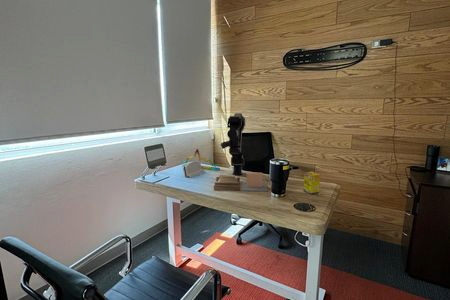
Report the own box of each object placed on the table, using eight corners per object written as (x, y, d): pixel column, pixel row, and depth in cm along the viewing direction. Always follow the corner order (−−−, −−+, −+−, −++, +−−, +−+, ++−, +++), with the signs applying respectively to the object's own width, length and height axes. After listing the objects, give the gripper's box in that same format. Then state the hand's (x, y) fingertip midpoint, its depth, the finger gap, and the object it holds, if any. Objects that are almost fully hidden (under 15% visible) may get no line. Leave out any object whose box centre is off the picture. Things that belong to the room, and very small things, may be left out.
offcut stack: (218, 181, 154) (218, 174, 153) (237, 181, 154) (237, 174, 153) (218, 184, 150) (217, 177, 149) (237, 184, 149) (237, 177, 148)
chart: (220, 170, 181) (219, 150, 178) (218, 171, 178) (218, 151, 175) (184, 166, 192) (183, 147, 189) (182, 167, 189) (181, 148, 186)
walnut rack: (216, 180, 156) (216, 177, 155) (239, 181, 155) (239, 177, 155) (213, 190, 139) (213, 186, 139) (240, 190, 138) (240, 186, 138)
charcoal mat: (242, 183, 151) (242, 182, 151) (264, 183, 150) (264, 182, 150) (242, 191, 137) (242, 190, 137) (267, 191, 137) (267, 190, 137)
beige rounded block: (189, 178, 161) (185, 163, 161) (184, 179, 164) (180, 165, 164) (205, 172, 175) (201, 158, 175) (200, 173, 178) (196, 160, 178)
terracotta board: (246, 185, 145) (246, 172, 144) (261, 185, 145) (262, 172, 143) (246, 186, 143) (246, 173, 141) (262, 187, 142) (262, 173, 141)
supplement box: (303, 191, 137) (304, 172, 135) (311, 189, 139) (312, 171, 137) (310, 194, 132) (311, 175, 130) (319, 193, 134) (320, 174, 132)
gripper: (222, 134, 158) (222, 158, 161) (220, 138, 140) (220, 165, 143) (239, 134, 158) (239, 158, 161) (239, 139, 140) (239, 165, 143)
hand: (234, 161), depth 152 cm, fingers open, 9 cm apart
